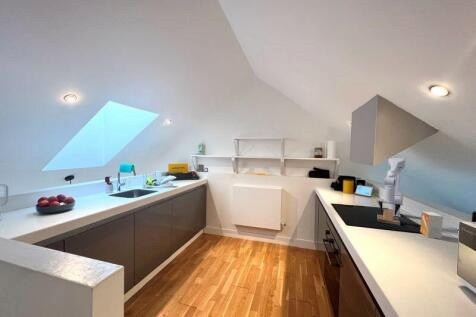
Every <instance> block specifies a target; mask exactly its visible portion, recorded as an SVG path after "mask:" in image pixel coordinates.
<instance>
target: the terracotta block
mask: <svg viewBox="0 0 476 317" xmlns="http://www.w3.org/2000/svg"><path fill="white" fill-rule="evenodd" d="M382 215H383V217H384V219H390V220H393V217H394V216H393V210H392V209H388V208H383V213H382Z"/></svg>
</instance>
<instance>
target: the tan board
mask: <svg viewBox="0 0 476 317" xmlns="http://www.w3.org/2000/svg"><path fill="white" fill-rule="evenodd" d="M376 215H377V216H376V219H377V222H379V223H384V224H389V225H394V224H395V226H401V222H400V219H399V217H397V216H393V220H390V219H384V217H383V214H376Z"/></svg>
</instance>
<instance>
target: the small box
mask: <svg viewBox="0 0 476 317" xmlns="http://www.w3.org/2000/svg"><path fill="white" fill-rule="evenodd" d="M443 220H444V216H443V215H440V214H439V213H437V212H434V211H425V210H424V211H423V210H422V211H421V219H420V233H421V234H422V235H424V236H426V237H427V238H431V239H439V240H441V239H442V236H443V234H442V233H443Z"/></svg>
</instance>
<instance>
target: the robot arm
mask: <svg viewBox="0 0 476 317" xmlns="http://www.w3.org/2000/svg"><path fill="white" fill-rule="evenodd" d="M387 164H388V167H389V169H390V170H388V171H387V173H386V177H384V180H383V184H384V186H383V187H384V195H383V196H384V197H383V199H381V198H380V199H379V198H376V203H378V206H379V209H380V213H381V214H383V206H384V204H388V205H387V209H392V210H393V217H398V218H401V213H400V212H401V211H400V210H401V206H403V203H404V195H403V193H402V192H401V191H400V179H401V172H402V170H405V169H406V158H404V157H400V158H399V157H388V163H387ZM383 203H384V204H383Z"/></svg>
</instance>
